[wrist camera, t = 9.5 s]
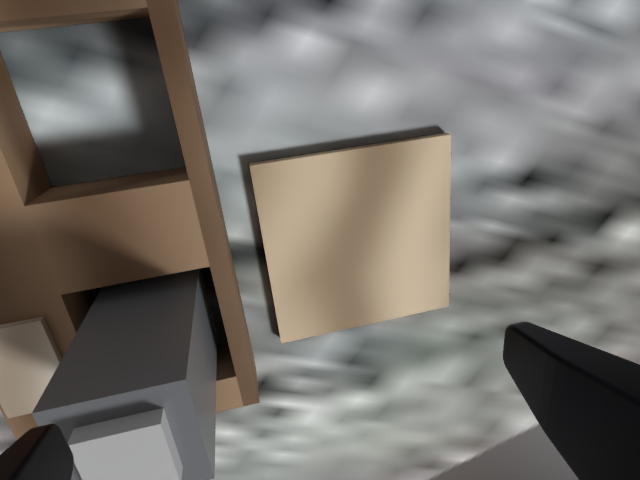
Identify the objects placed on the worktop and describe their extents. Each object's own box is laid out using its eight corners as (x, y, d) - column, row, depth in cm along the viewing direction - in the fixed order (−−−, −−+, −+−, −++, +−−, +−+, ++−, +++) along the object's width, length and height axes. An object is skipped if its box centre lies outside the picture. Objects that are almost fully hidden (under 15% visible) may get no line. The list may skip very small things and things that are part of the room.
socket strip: (167, -42, 15) (156, -66, 12) (255, 367, 22) (260, 406, 19) (-162, -17, 13) (-253, -37, 11) (49, 414, 20) (24, 464, 18)
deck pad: (445, 132, 19) (451, 134, 19) (444, 301, 23) (448, 306, 22) (248, 163, 18) (249, 165, 17) (280, 337, 21) (281, 343, 21)
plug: (199, 261, 19) (184, 394, 11) (217, 334, 21) (213, 495, 13) (106, 278, 18) (21, 431, 11) (132, 352, 20) (74, 532, 12)
